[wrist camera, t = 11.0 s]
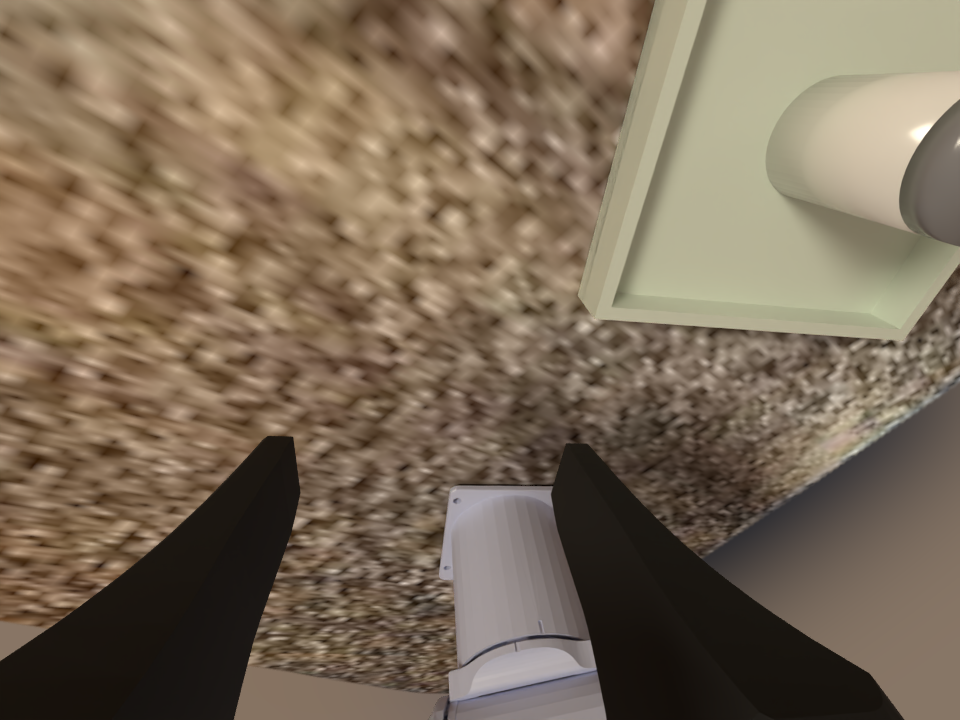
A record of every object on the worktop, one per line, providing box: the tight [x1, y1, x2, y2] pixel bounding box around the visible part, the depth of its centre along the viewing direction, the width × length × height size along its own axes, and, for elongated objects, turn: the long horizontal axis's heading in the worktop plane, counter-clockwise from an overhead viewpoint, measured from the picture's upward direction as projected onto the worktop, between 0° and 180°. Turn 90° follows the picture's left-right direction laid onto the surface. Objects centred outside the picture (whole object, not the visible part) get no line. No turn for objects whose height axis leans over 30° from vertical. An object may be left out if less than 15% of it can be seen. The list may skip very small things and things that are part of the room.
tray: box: [578, 0, 960, 341], centre depth 17 cm, size 16×16×2 cm
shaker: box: [765, 71, 960, 247], centre depth 15 cm, size 4×4×7 cm
